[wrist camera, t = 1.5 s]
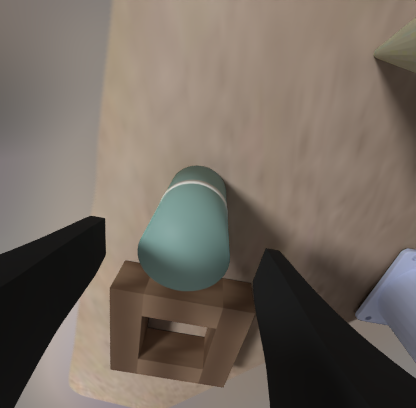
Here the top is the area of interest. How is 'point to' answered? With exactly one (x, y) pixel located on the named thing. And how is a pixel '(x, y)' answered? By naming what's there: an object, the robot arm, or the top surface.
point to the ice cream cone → (400, 48)
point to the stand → (183, 313)
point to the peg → (188, 233)
